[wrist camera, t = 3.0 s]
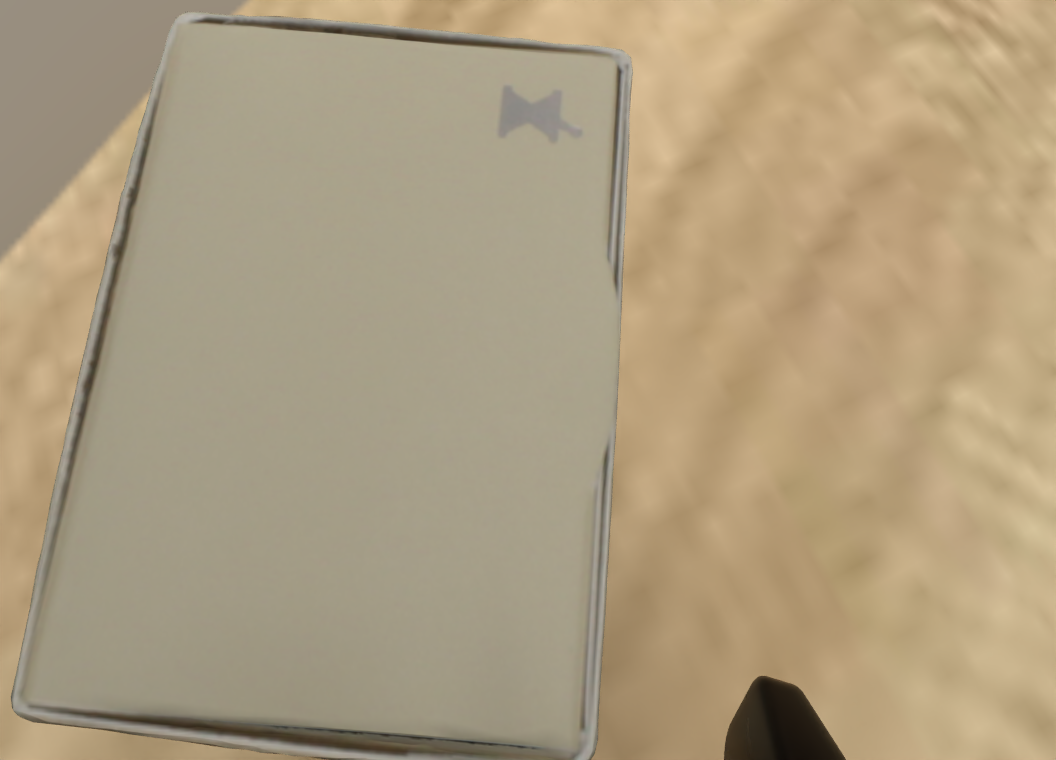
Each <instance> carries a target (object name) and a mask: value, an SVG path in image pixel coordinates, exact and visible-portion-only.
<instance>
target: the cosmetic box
mask: <svg viewBox="0 0 1056 760" xmlns="http://www.w3.org/2000/svg"><path fill="white" fill-rule="evenodd" d="M632 75H633V70H632V62H631V57H630V56H629V55H628V54H626V53H625V52H624V51H623V50H620V49H614V48H607V47H600V46H590V45H572V44H553V43H547V42H541V41H536V40H529V39H522V38H506V37H496V36H487V35H479V34H470V33H461V32H449V31H438V30H424V29H415V28H405V27H396V26H388V25H379V24H367V23H354V22H342V21H331V20H320V19H310V18H292V17H281V16H243V15H222V14H213V13H204V12H185V13H183V14H182V15H180V16H179V17H177V18H176V19H175V21H174V23H173V25H172V27H171V29H170V31H169V34H168V38H167V42H166V45H165V49H164V52H163V55H162V59H161V62H160V64H159V67H158V69H157V72H156V74H155V77H154V80H153V84H152V89H151V92H150V96H149V100H148V103H147V107H146V110H145V113H144V116H143V119H142V122H141V125H140V128H139V132H138V136H137V141H136V145H135V149H134V152H133V155H132V158H131V162H130V166H129V170H128V174H127V178H126V182H125V186H124V189H123V191H122V193H121V197H120V202H119V207H118V212H117V217H116V221H115V225H114V229H113V232H112V236H111V240H110V244H109V248H108V252H107V257H106V262H105V267H104V272H103V276H102V279H101V283H100V287H99V290H98V294H97V298H96V303H95V308H94V312H93V316H92V320H91V325H90V329H89V334H88V338H87V342H86V347H85V351H84V355H83V360H82V364H81V368H80V373H79V377H78V382H77V386H76V390H75V395H74V399H73V403H72V408H71V412H70V417H69V421H68V426H67V429H66V435H65V441H64V447H63V451H62V455H61V459H60V462H59V466H58V471H57V475H56V480H55V484H54V489H53V493H52V498H51V503H50V508H49V513H48V519H47V524H46V530H45V535H44V541H43V546H42V551H41V554H40V558H39V562H38V566H37V570H36V576H35V582H34V587H33V593H32V599H31V605H30V610H29V615H28V620H27V624H26V629H25V634H24V639H23V643H22V648H21V653H20V658H19V663H18V667H17V672H16V677H15V681H14V686H13V690H12V694H11V702H12V708H13V710H14V712H15V713H16V714H17V715H18V716H20V717H22V718H24V719H27V720H29V721H32V722H37V723H46V724H55V725H64V726H74V727H83V728H92V729H101V730H108V731H114V732H120V733H126V734H132V735H140V736H147V737H155V738H163V739H170V740H177V741H184V742H191V743H198V744H204V745H211V746H218V747H224V748H232V749H246V750H251V751H256V752H260V753H273V754H285V755H290V756H303V757H314V758H321V759H328V760H591V758H592V757H593V755H594V754H595V750H596V745H597V741H598V717H599V699H600V682H601V668H602V653H603V639H604V625H605V609H606V591H607V574H608V556H609V539H610V524H611V510H612V488H613V466H614V452H615V438H616V419H617V399H618V379H619V356H620V331H621V308H622V285H623V261H624V235H625V219H626V198H627V174H628V158H629V115H630V101H631V87H632Z"/></svg>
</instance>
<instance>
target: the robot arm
mask: <svg viewBox="0 0 1056 760" xmlns="http://www.w3.org/2000/svg"><path fill="white" fill-rule="evenodd" d="M724 760H846V759H845V757H844V756H843V754H842V752H841V751H840V749H839V748H838V746H837V745H836V743H835V742H834V740H833V738H832V737H831V735H830V734H829V732H828V731H827V729H826V727H825V726H824V724H823V723H822V721H821V720H820V718H819V717H818V715H817V713H816V712H815V710H814V709H813V707H812V706H811V704H810V703H809V701H808V699H807V698H806V696H805V695H804V693H803V692H802V691H801V690H800V689H799V688H798V687H797V686H795V685H793V684H790V683H787V682H784V681H780V680H777V679H774V678H770V677H767V676H760V677H757V678H756V679H755V680H754V681H753V683H752V684H751V686H750V688H749V690H748V692H747V694H746V695H745V697H744V699H743V701H742V703H741V705H740V707H739V709H738V710H737V712H736V714H735V716H734V718H733V720H732V722H731V724H730V726H729V729H728V732H727V736H726V742H725V751H724Z"/></svg>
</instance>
